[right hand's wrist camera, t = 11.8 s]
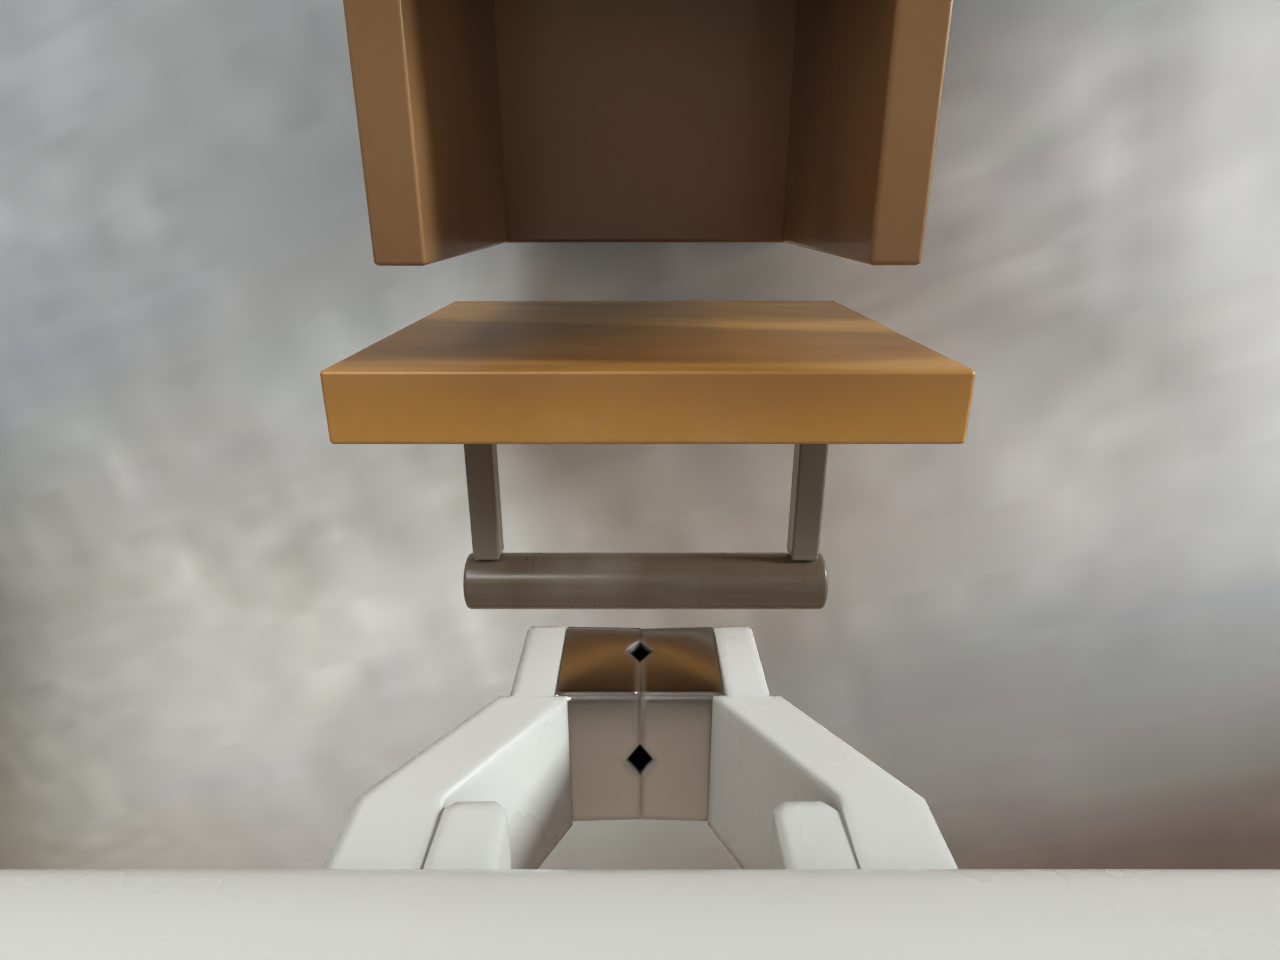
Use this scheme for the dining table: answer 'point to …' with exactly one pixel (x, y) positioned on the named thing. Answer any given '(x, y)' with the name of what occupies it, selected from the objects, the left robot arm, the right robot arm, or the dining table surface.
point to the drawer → (647, 212)
